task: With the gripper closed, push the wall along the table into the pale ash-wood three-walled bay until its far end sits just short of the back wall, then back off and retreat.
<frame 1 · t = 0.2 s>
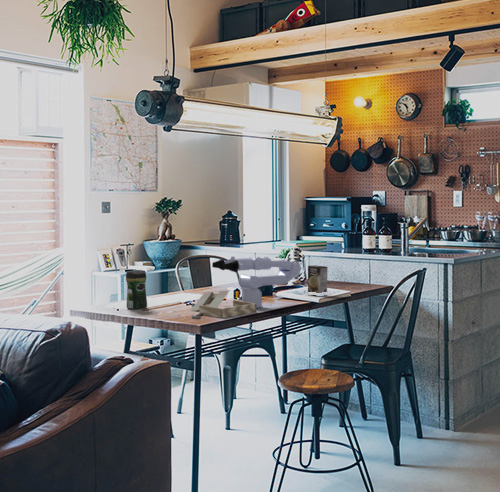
hand: (218, 265, 319), 22 cm above the table, tool horizontal, fingers open, 7 cm apart
bay: (228, 313, 318), on the table
coffee jar: (136, 308, 333), on the table
coffee box: (317, 296, 373), on the table
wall: (210, 310, 327), on the table
hook: (197, 316, 308), on the table
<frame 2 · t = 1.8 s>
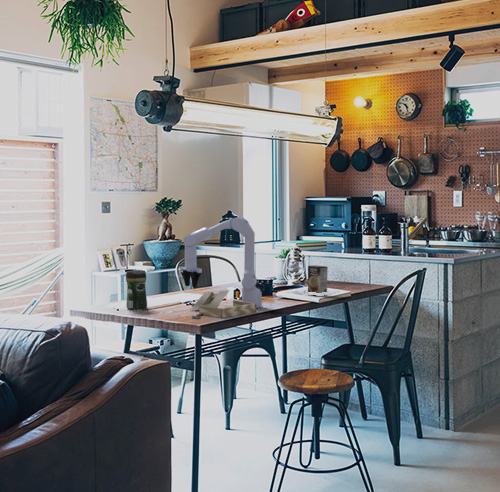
hand: (190, 286, 337), 10 cm above the table, tool pointing down, fingers open, 5 cm apart
nothing on the table moved.
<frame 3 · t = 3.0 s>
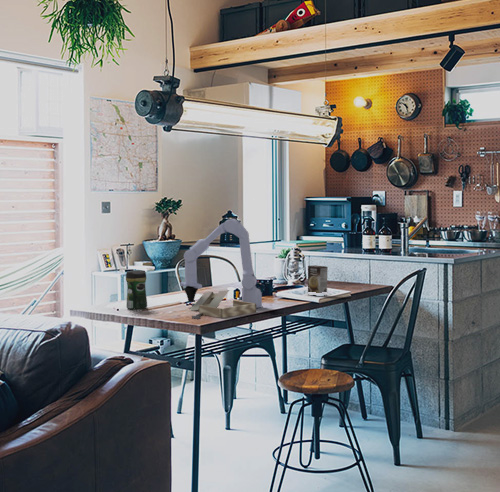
hand: (191, 302, 337), 2 cm above the table, tool pointing down, fingers closed
nothing on the table moved.
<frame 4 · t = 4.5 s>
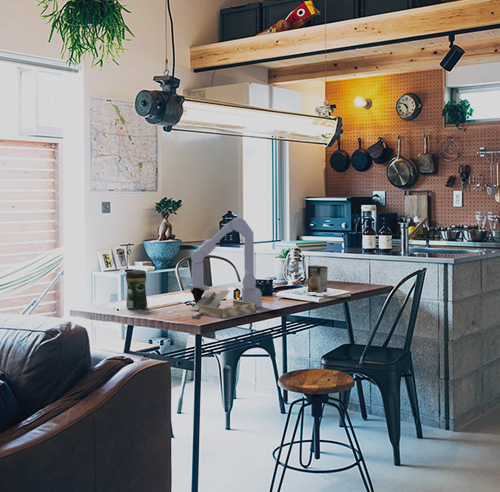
hand: (197, 303, 334), 2 cm above the table, tool pointing down, fingers closed
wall: (210, 310, 326), on the table, touching gripper
everything else where it was.
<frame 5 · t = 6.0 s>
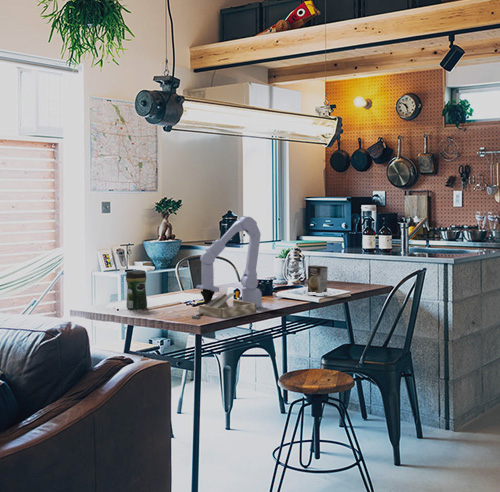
hand: (207, 305, 328), 2 cm above the table, tool pointing down, fingers closed
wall: (216, 312, 321), on the table, touching gripper
everything else where it was.
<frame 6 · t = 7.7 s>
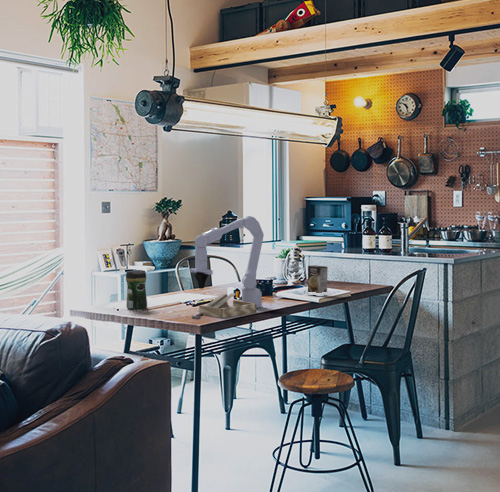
hand: (201, 288, 331), 10 cm above the table, tool pointing down, fingers closed
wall: (217, 313, 321), on the table
everything else where it was.
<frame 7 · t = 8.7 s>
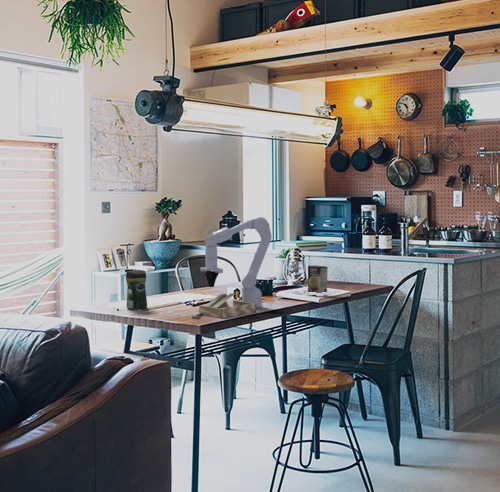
hand: (211, 286, 335), 10 cm above the table, tool pointing down, fingers closed
nothing on the table moved.
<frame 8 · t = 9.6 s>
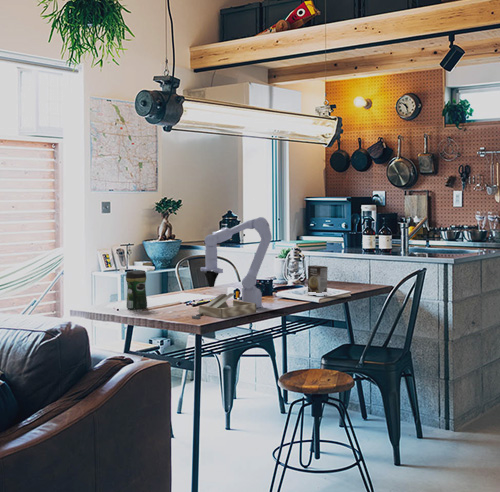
hand: (211, 286, 335), 10 cm above the table, tool pointing down, fingers closed
nothing on the table moved.
at the end: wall inside the target area (2.9 cm from its centre), on the table; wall moved 6.9 cm from its start; hook moved 0.0 cm from its start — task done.
